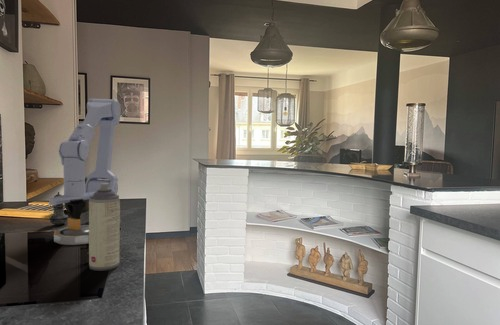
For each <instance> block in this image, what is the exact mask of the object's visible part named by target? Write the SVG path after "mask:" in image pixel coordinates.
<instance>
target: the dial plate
mask: <svg viewBox="0 0 500 325" xmlns="http://www.w3.org/2000/svg"><path fill="white" fill-rule="evenodd" d="M80 226H89V224H80ZM66 229H69V228H68V226H66V227H61V228H59V229H56V230H54V233H53V242H54V243H57V244H59V245H67V246H68V245H69V246H70V245H71V246H75V245H87V244H88V245H89V235H83V236H65V235H64V230H66Z"/></svg>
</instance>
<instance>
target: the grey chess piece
mask: <svg viewBox="0 0 500 325" xmlns="http://www.w3.org/2000/svg"><path fill="white" fill-rule="evenodd" d="M62 195H63V194H60V192H59V191H57V193H56V194H55V195H53V198H54V197H58V196H62ZM64 206H65V205H64V203H63V204H57V205H54V206H53V205H52V207H53V212H52V214H51V215H50V216H48V219H49V221H50V224H52V225H54V226H60V225H64V224H65V223H67V222H68V218H69V214H65V210H64Z"/></svg>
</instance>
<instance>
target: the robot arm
mask: <svg viewBox="0 0 500 325" xmlns="http://www.w3.org/2000/svg"><path fill="white" fill-rule="evenodd" d="M86 110H87V111H86V112H87V113H86V115H85V118H84V120H83V121H82V123H79V124H77V125H76V126H75V128H74V130H73V131H72V133H71V135H70V136H69V137H68V139H67V140H63V141H62V142H61V143H60V145H59V149H58V155H59V157H60V161H61V162H60V164H61V166H63V194H61V195H62V196H58V197H54V196H53V197H49V198H48V199H49V201H48V202H49V206H52V207H53V206H54V205H57V204H64V203H65V206H66V207H67V208H68V210H69V212H68V213H69V215H70V218H75V219H80V220H81V215H82V210H83V209H84V207H85V205H86V202H85V201H83V200H87V199H90V196H93V195H94V193H95V192H96V191H97V190H98V189H99V188H101V184H102V183H108V184H109V188H110V189H112V191H114V192H115V194H116V195H118V191H119V185H118V181H119V180H118V177H117V175H115V174H114V173H113V172H112V171H111V166H112V158H113V157H112V156H113V148H114V139H115V131H116V129H115V128H116V126H118V125H119V124H120V120H121V112H122V108H121V104H120V101H119V100H118V99H116V98H114V99H113V98H112V99H109V98H93V97H92V98H88V101H87V103H86ZM96 126H99V134H98V144H97V151H96V159H95V160H96V161H95V169H94V170H93V171H92V172H91V173H89V174H88V175H87V181H86V184H85V176H86V164H85V162H86V159H87V158H88V156H89V153H90V152H89V150H90V144H91V142H92V140H93V139H94V136H95V135H96V134H95V128H96ZM74 199H75V200H74ZM120 222H122V219H120Z"/></svg>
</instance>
